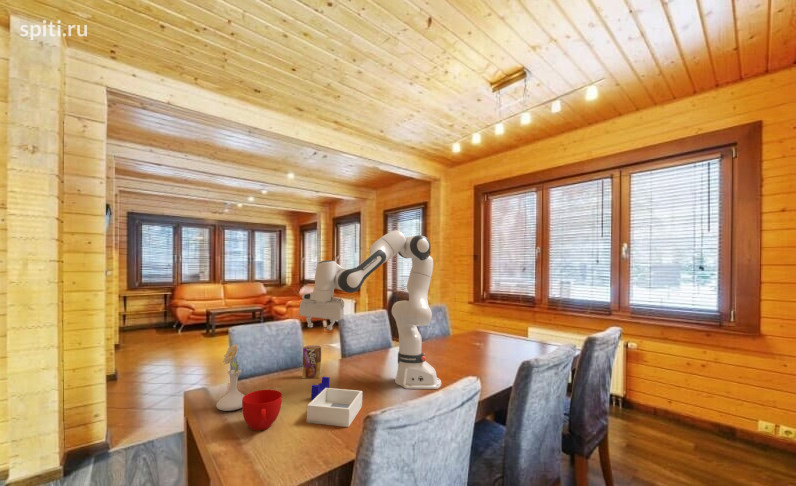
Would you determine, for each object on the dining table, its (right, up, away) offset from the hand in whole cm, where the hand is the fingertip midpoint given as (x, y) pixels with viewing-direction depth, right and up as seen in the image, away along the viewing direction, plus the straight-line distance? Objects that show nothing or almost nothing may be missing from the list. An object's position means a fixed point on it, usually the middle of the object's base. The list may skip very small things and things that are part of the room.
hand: (319, 328), depth 146 cm
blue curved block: (0, -29, -1) cm, 29 cm away
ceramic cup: (-13, -26, -32) cm, 43 cm away
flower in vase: (-30, -27, -16) cm, 43 cm away
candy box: (-9, -30, +21) cm, 38 cm away
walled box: (+11, -28, -19) cm, 35 cm away
